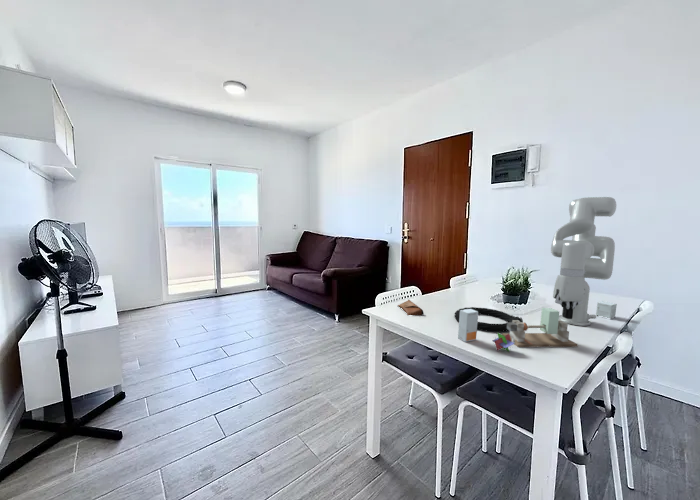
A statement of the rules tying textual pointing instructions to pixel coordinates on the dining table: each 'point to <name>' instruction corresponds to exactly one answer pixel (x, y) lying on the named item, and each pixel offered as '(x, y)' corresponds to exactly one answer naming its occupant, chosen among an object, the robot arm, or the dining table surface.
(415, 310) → the sunglasses case
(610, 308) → the skincare box
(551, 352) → the dining table surface
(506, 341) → the geometric puzzle
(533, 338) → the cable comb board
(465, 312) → the skincare box
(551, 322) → the sleeve
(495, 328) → the cable lock
